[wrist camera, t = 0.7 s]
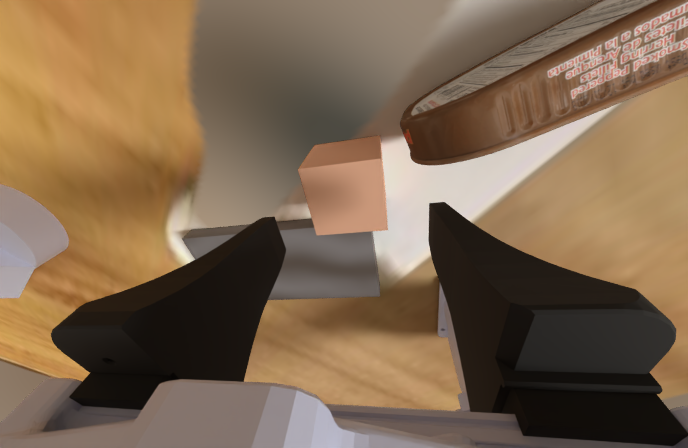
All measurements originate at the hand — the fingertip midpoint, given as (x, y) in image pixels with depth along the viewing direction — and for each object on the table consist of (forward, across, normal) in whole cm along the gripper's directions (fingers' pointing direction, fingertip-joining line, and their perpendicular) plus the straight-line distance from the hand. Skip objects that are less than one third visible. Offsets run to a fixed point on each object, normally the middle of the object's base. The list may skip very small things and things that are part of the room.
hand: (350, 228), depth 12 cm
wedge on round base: (+10, +39, +3) cm, 40 cm away
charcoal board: (+9, +9, +10) cm, 16 cm away
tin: (+10, -10, -5) cm, 15 cm away
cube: (+10, +1, +1) cm, 10 cm away
